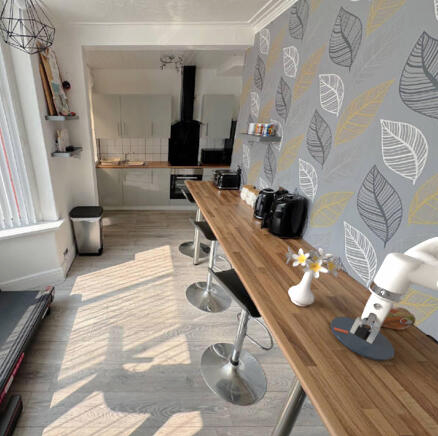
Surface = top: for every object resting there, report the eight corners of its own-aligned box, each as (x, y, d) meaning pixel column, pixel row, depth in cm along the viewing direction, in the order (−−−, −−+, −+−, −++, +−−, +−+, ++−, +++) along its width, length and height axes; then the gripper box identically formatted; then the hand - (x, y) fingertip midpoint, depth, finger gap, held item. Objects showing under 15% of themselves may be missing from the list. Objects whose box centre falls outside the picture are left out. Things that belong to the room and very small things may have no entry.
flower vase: (274, 285, 109) (289, 237, 99) (321, 300, 101) (343, 250, 90) (271, 302, 98) (288, 251, 88) (324, 321, 90) (349, 267, 80)
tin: (362, 323, 90) (372, 306, 87) (358, 317, 93) (366, 300, 89) (409, 332, 87) (421, 315, 83) (403, 325, 90) (414, 308, 86)
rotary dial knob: (378, 326, 86) (386, 312, 84) (405, 369, 72) (416, 354, 69) (324, 313, 92) (330, 299, 89) (339, 350, 77) (347, 335, 74)
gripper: (399, 310, 66) (372, 352, 72) (406, 286, 76) (382, 324, 83) (365, 295, 71) (343, 335, 78) (376, 274, 81) (355, 311, 88)
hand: (363, 329), depth 80 cm, fingers open, 9 cm apart
